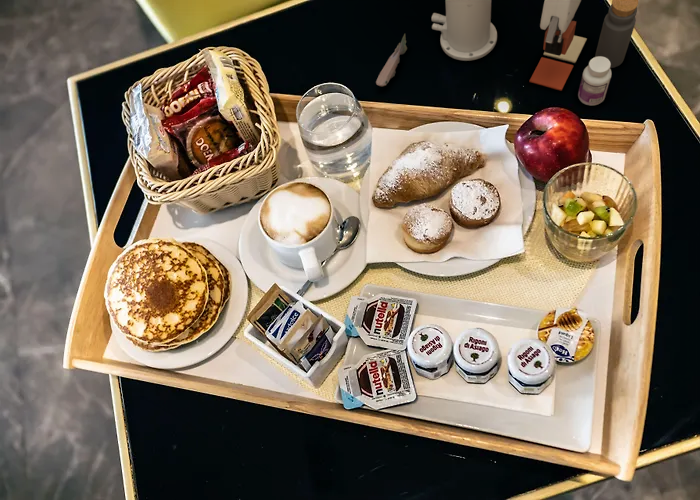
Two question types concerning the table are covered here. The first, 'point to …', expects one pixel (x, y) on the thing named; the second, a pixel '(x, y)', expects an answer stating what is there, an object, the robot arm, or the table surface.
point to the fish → (391, 64)
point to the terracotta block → (565, 37)
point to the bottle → (617, 31)
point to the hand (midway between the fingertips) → (557, 42)
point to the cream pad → (571, 50)
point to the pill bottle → (595, 81)
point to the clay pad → (551, 73)
